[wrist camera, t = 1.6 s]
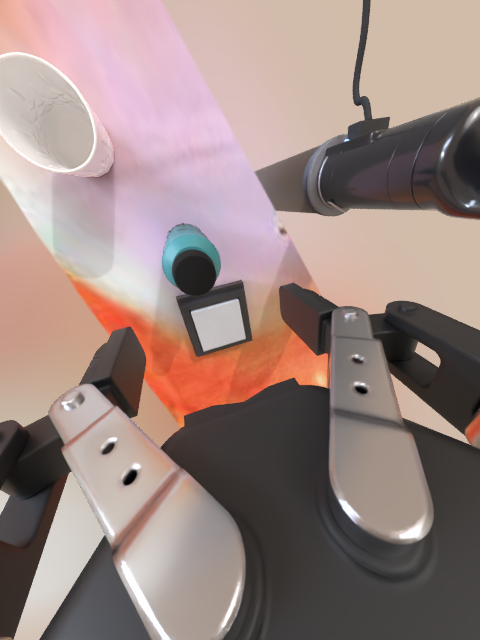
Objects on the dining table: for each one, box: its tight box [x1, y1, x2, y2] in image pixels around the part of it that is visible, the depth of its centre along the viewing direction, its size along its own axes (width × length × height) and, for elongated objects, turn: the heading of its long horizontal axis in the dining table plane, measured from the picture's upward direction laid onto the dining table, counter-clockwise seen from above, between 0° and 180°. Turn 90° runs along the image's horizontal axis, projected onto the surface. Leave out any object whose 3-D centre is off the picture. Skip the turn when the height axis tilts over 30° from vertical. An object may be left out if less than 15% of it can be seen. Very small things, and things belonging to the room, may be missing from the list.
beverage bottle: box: [162, 223, 221, 296], centre depth 27 cm, size 6×7×20 cm
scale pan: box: [191, 298, 246, 351], centre depth 42 cm, size 9×9×2 cm
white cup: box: [0, 52, 114, 177], centre depth 23 cm, size 8×8×10 cm
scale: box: [176, 280, 252, 357], centre depth 43 cm, size 14×13×3 cm
